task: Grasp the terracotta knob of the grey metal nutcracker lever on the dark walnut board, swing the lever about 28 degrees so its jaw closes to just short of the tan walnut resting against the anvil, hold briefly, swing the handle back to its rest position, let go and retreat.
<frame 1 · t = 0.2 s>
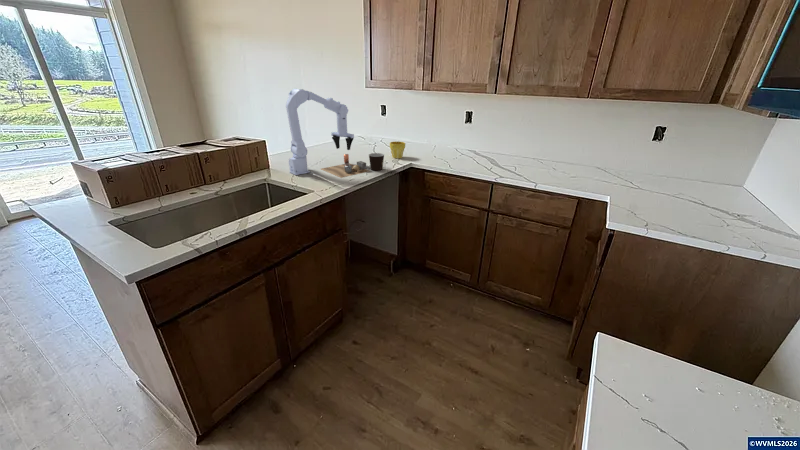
hand: (343, 149, 200), 10 cm above the countertop, tool pointing down, fingers open, 7 cm apart
lever: (347, 163, 191), point 5 cm above the countertop, hinge at 0.0°
walnut: (356, 171, 188), point 1 cm above the countertop, touching nutcracker base
coffee mug: (378, 171, 194), on the countertop
plant pot: (397, 157, 225), on the countertop
nutcracker base: (345, 172, 191), on the countertop
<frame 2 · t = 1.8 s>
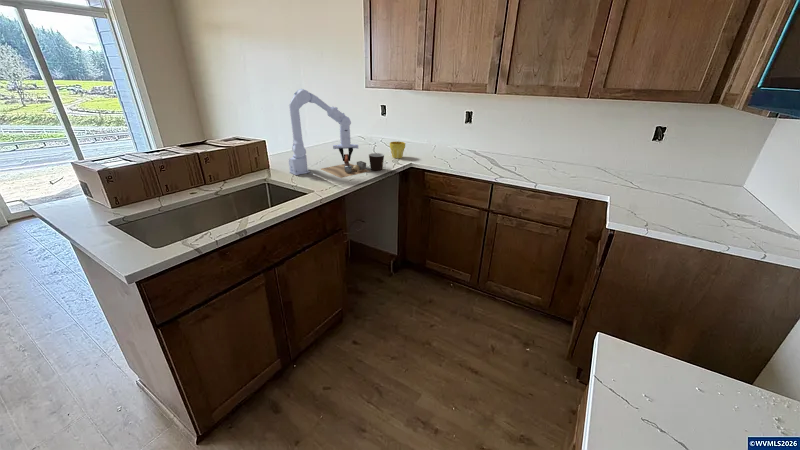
hand: (346, 160, 197), 4 cm above the countertop, tool pointing down, fingers closed on lever, 3 cm apart
lever: (347, 163, 191), point 5 cm above the countertop, hinge at 0.0°, touching gripper
everything else where it was.
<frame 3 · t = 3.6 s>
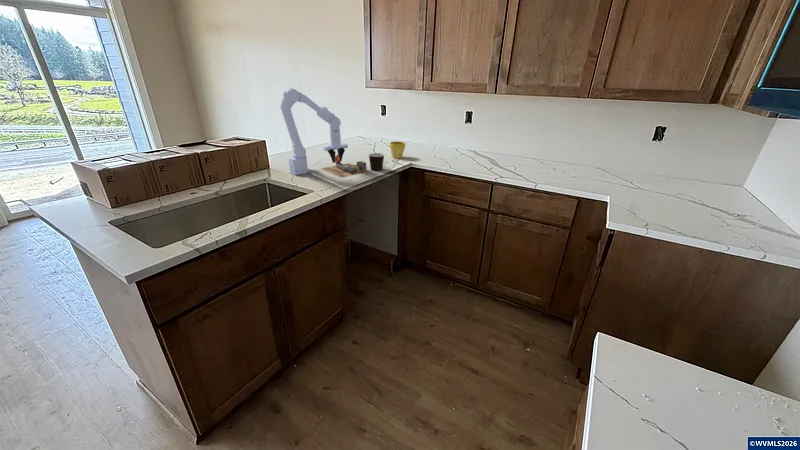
hand: (337, 161, 195), 4 cm above the countertop, tool pointing down, fingers open, 4 cm apart
lever: (344, 163, 190), point 5 cm above the countertop, hinge at 25.3°, touching gripper
everything else where it was.
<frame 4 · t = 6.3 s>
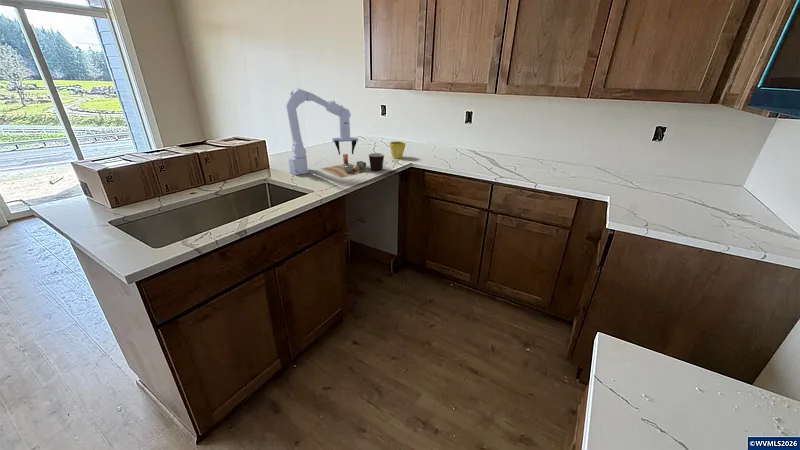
hand: (346, 153, 196), 8 cm above the countertop, tool pointing down, fingers open, 7 cm apart
lever: (347, 163, 191), point 5 cm above the countertop, hinge at 2.0°
everything else where it was.
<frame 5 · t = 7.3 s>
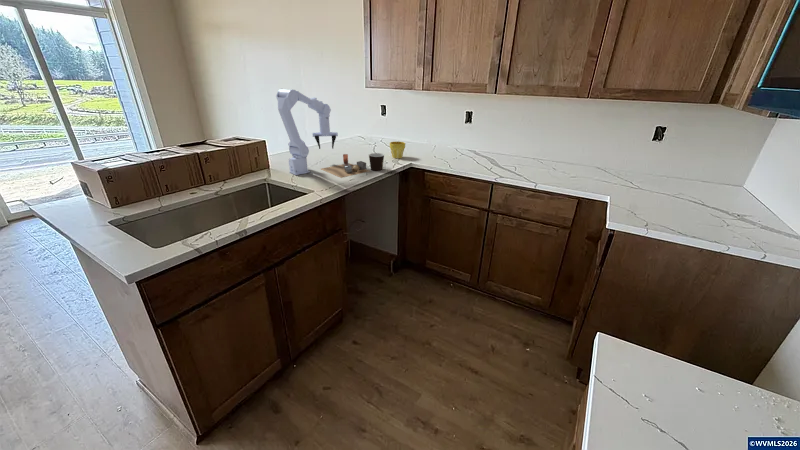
hand: (326, 148, 201), 10 cm above the countertop, tool pointing down, fingers open, 7 cm apart
nothing on the countertop moved.
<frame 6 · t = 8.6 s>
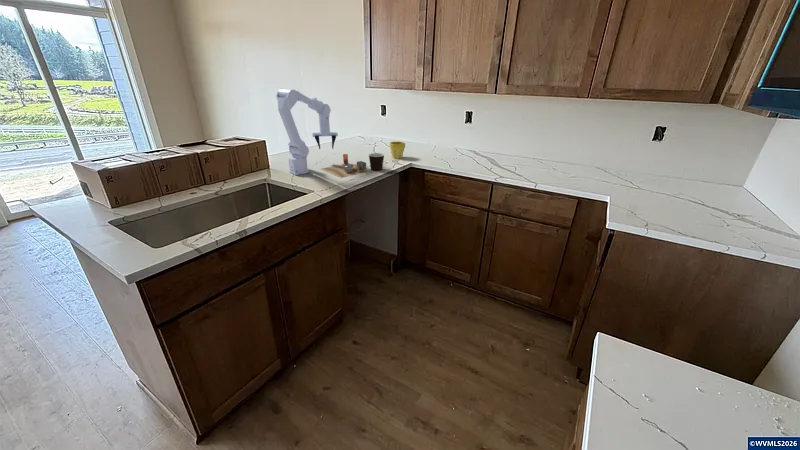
hand: (326, 148, 201), 10 cm above the countertop, tool pointing down, fingers open, 7 cm apart
nothing on the countertop moved.
at the end: lever at +2° (first picture: +0°); the gripper is holding nothing; walnut 0.0 cm from the target spot, point 1.5 cm above the countertop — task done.
